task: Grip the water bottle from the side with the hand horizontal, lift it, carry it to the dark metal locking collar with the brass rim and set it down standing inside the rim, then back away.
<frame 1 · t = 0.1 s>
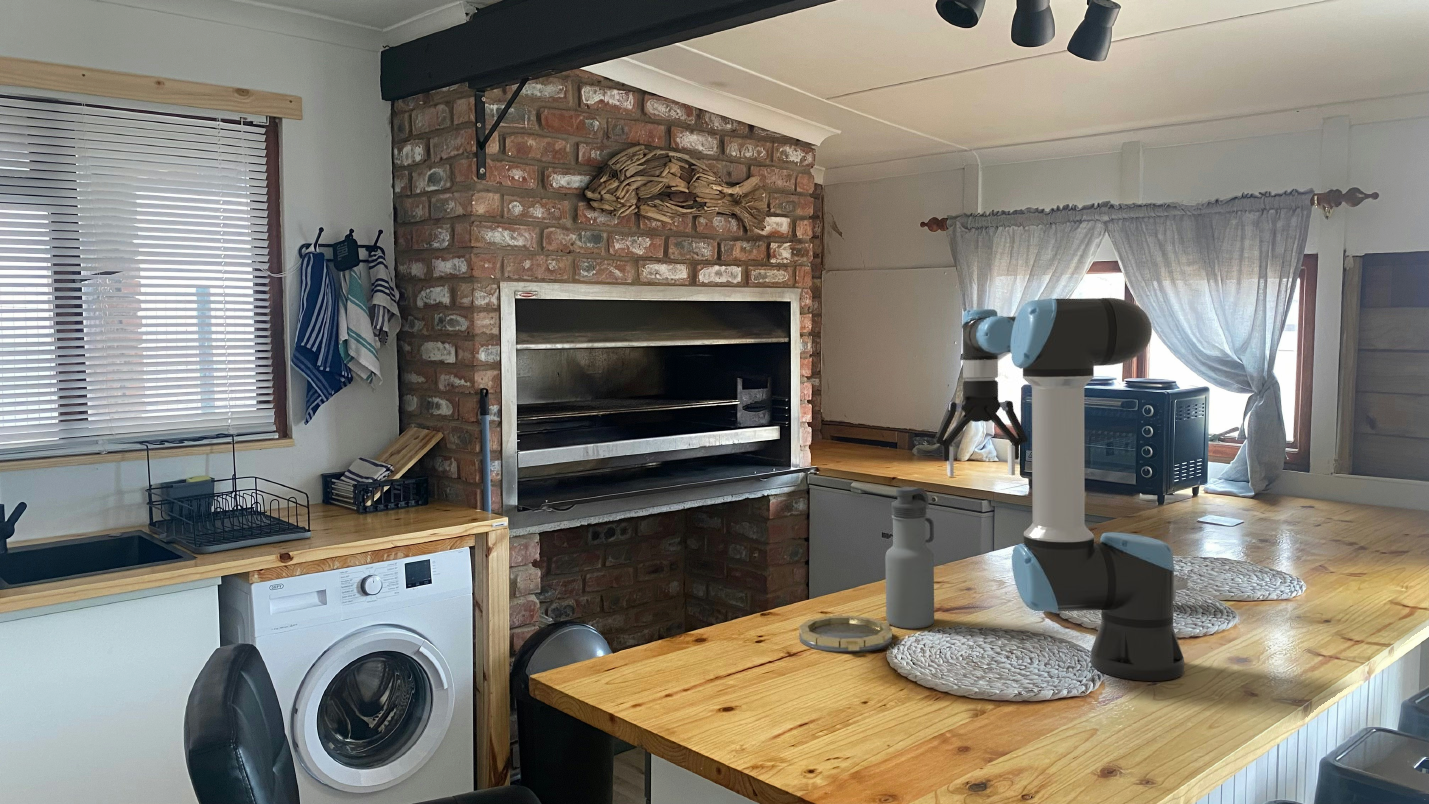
hand: (980, 475, 225), 28 cm above the worktop, tool pointing down, fingers open, 13 cm apart
showerhead: (1161, 609, 217), on the worktop
water bottle: (910, 623, 210), on the worktop
collar: (845, 638, 199), on the worktop
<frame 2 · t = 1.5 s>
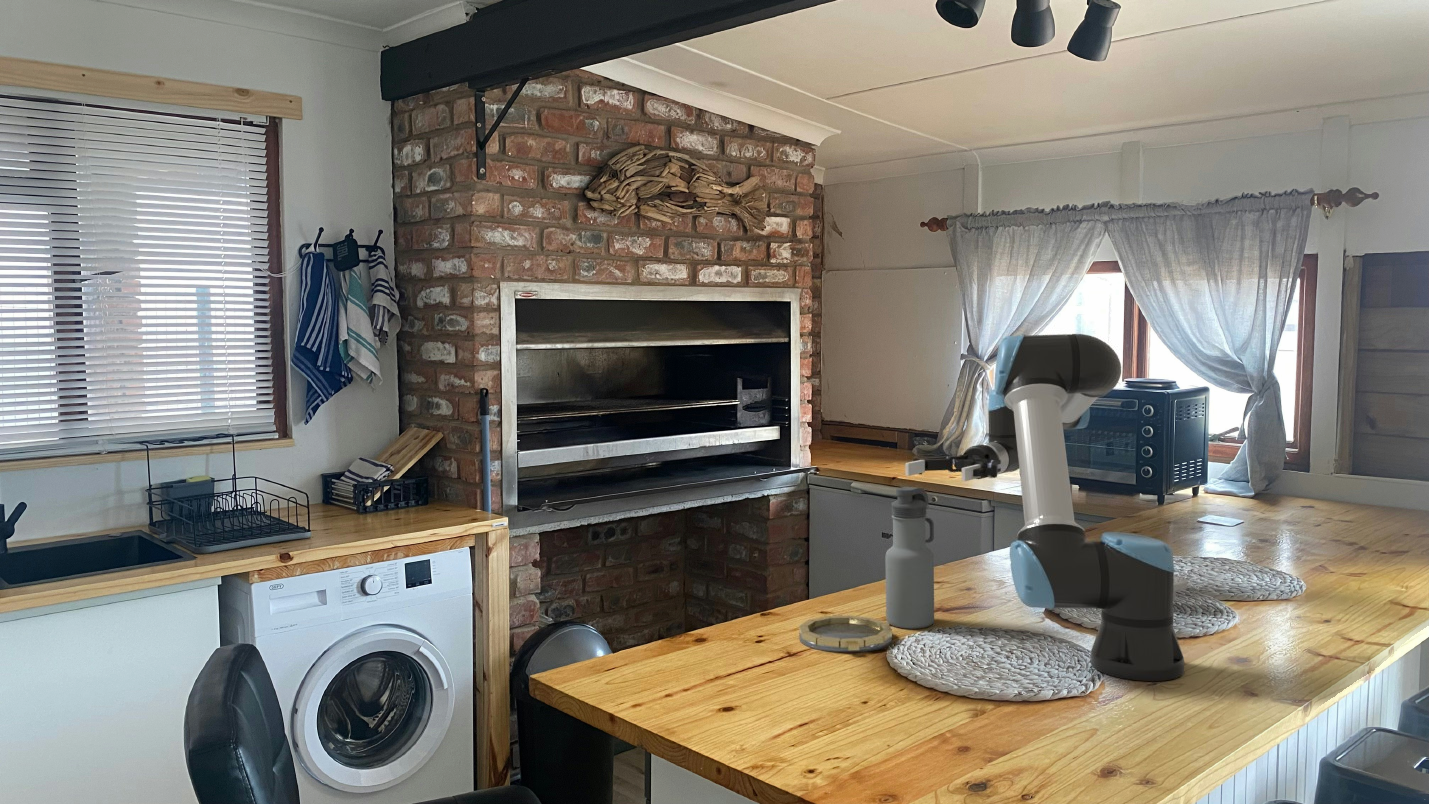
hand: (934, 472, 214), 30 cm above the worktop, tool horizontal, fingers open, 13 cm apart
nothing on the worktop moved.
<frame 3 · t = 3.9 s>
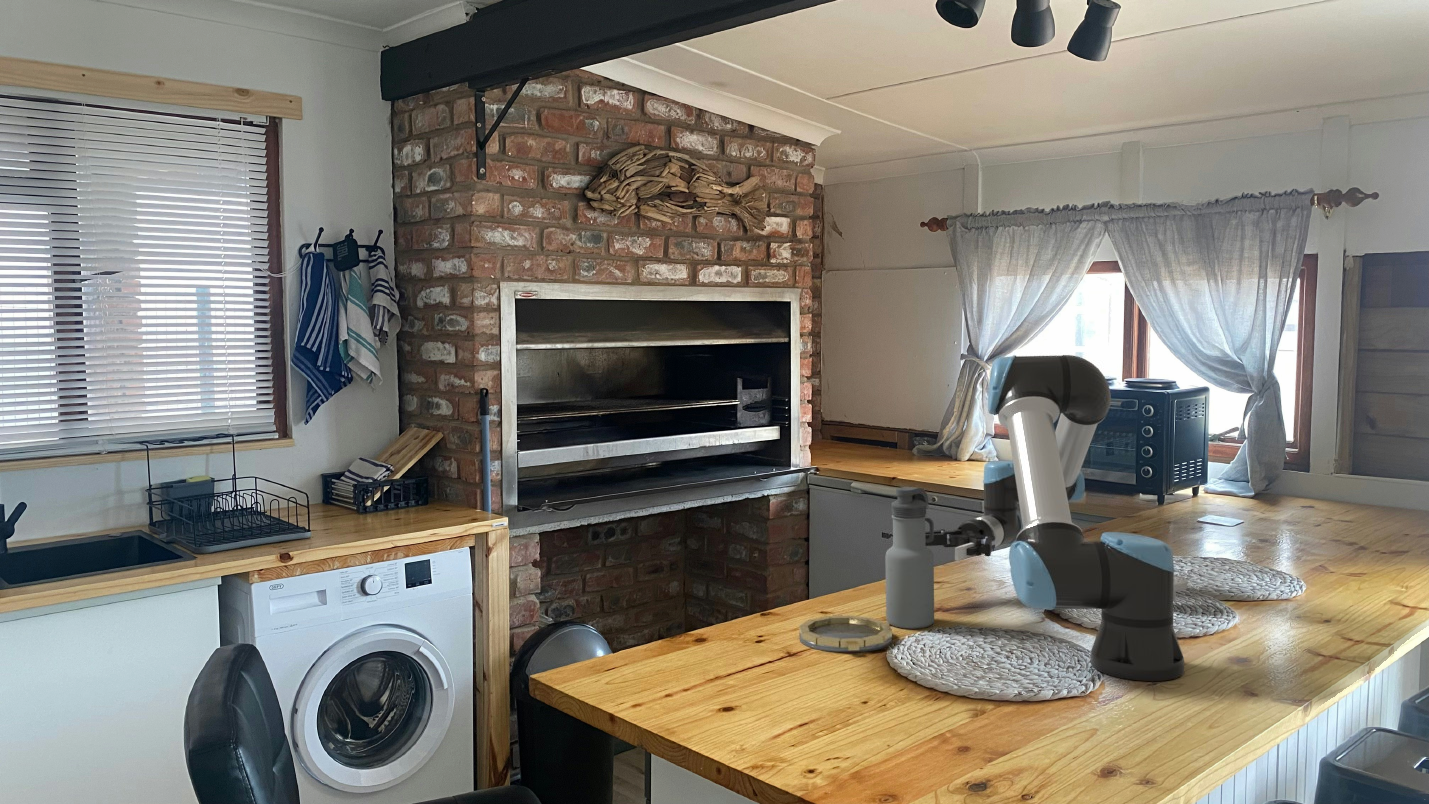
hand: (927, 550, 214), 14 cm above the worktop, tool horizontal, fingers open, 13 cm apart
nothing on the worktop moved.
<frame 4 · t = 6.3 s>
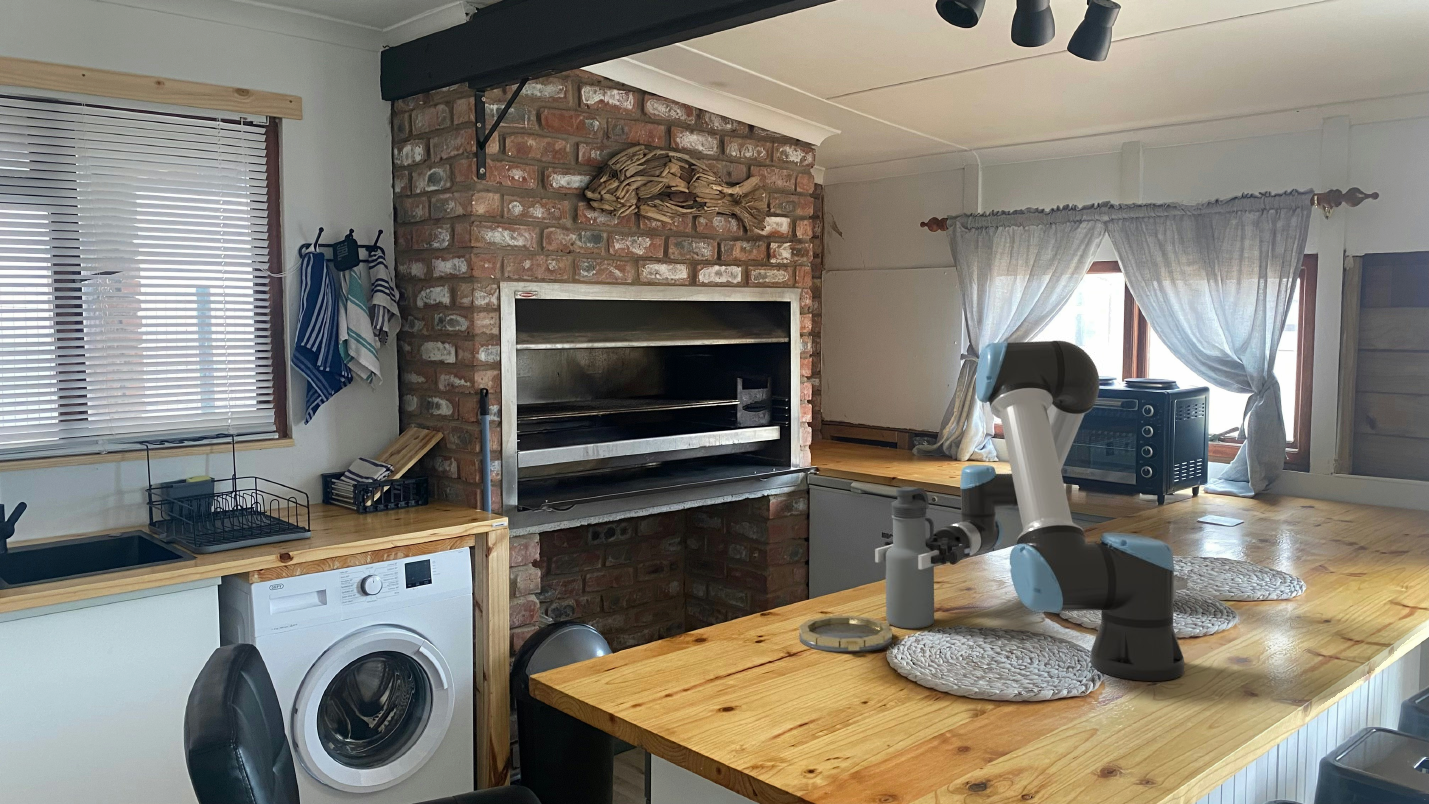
hand: (897, 559, 206), 14 cm above the worktop, tool horizontal, fingers closed on water bottle, 10 cm apart
water bottle: (910, 623, 210), on the worktop, touching gripper
everything else where it was.
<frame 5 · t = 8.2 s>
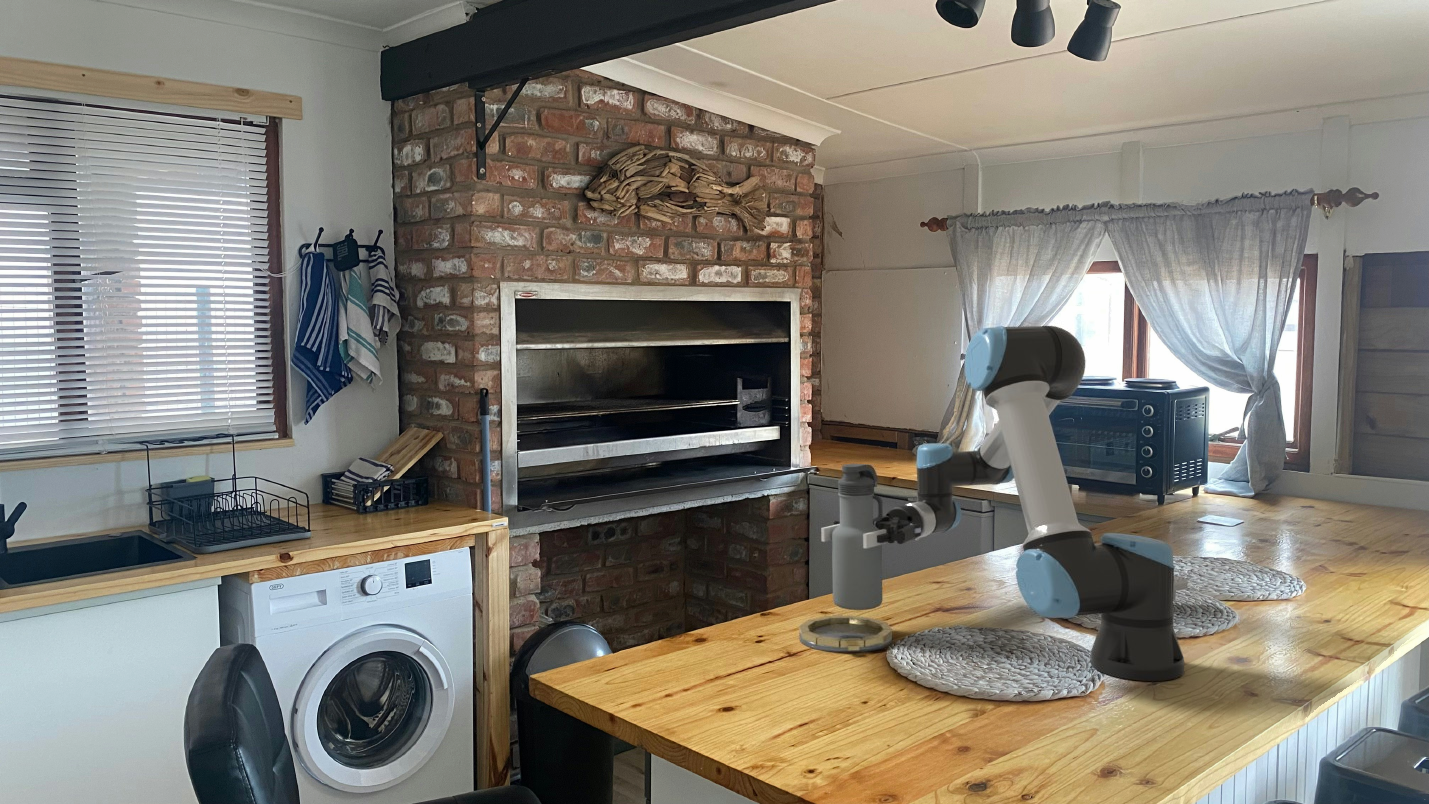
hand: (843, 538, 199), 20 cm above the worktop, tool horizontal, fingers closed on water bottle, 10 cm apart
water bottle: (858, 605, 203), point 6 cm above the worktop, touching gripper
everything else where it was.
when the fingers open (16 cm above the worktop, at t = 10.0 s): water bottle stays where it is, resting on collar.
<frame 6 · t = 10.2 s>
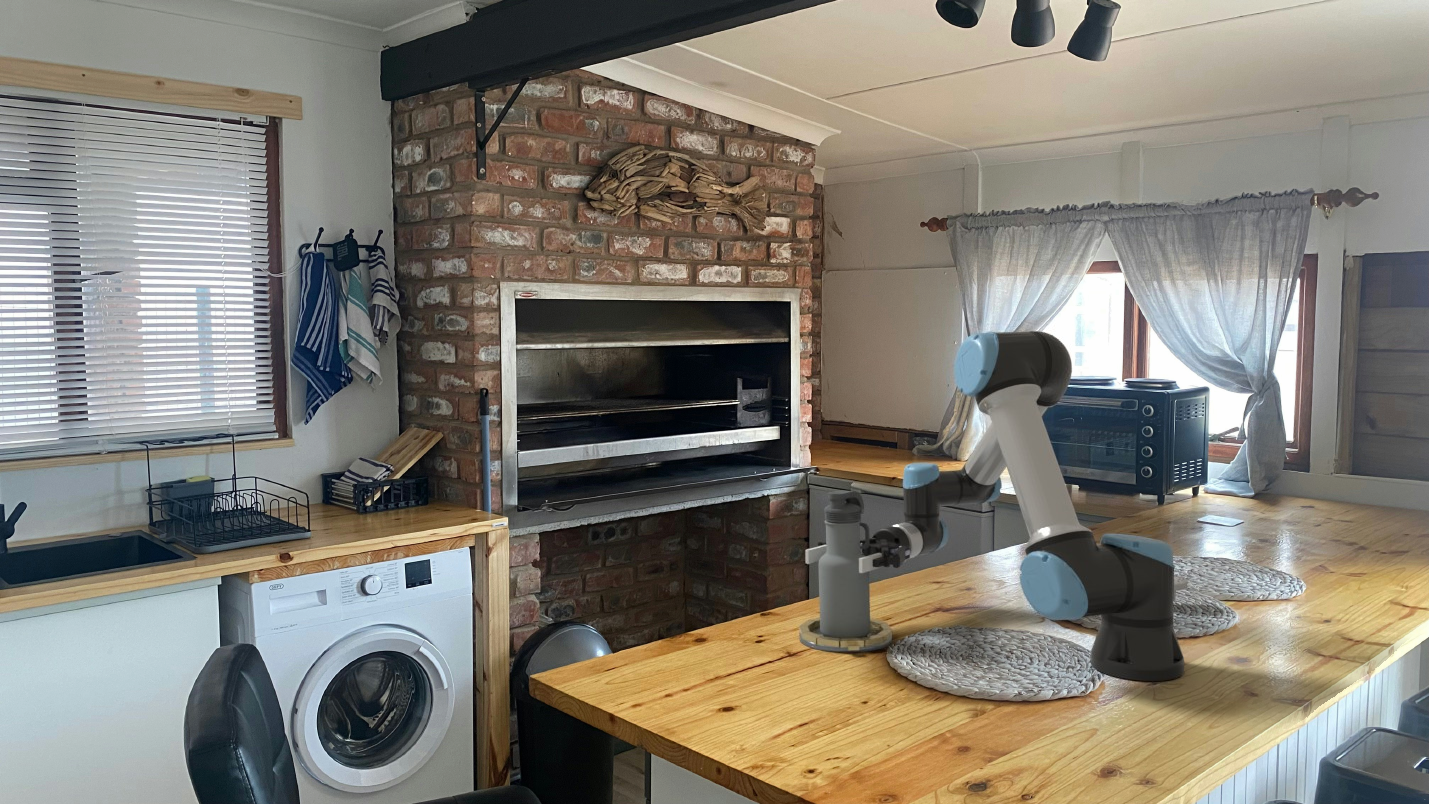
hand: (833, 561, 196), 16 cm above the worktop, tool horizontal, fingers open, 12 cm apart
water bottle: (845, 634, 199), point 1 cm above the worktop, touching collar
everything else where it was.
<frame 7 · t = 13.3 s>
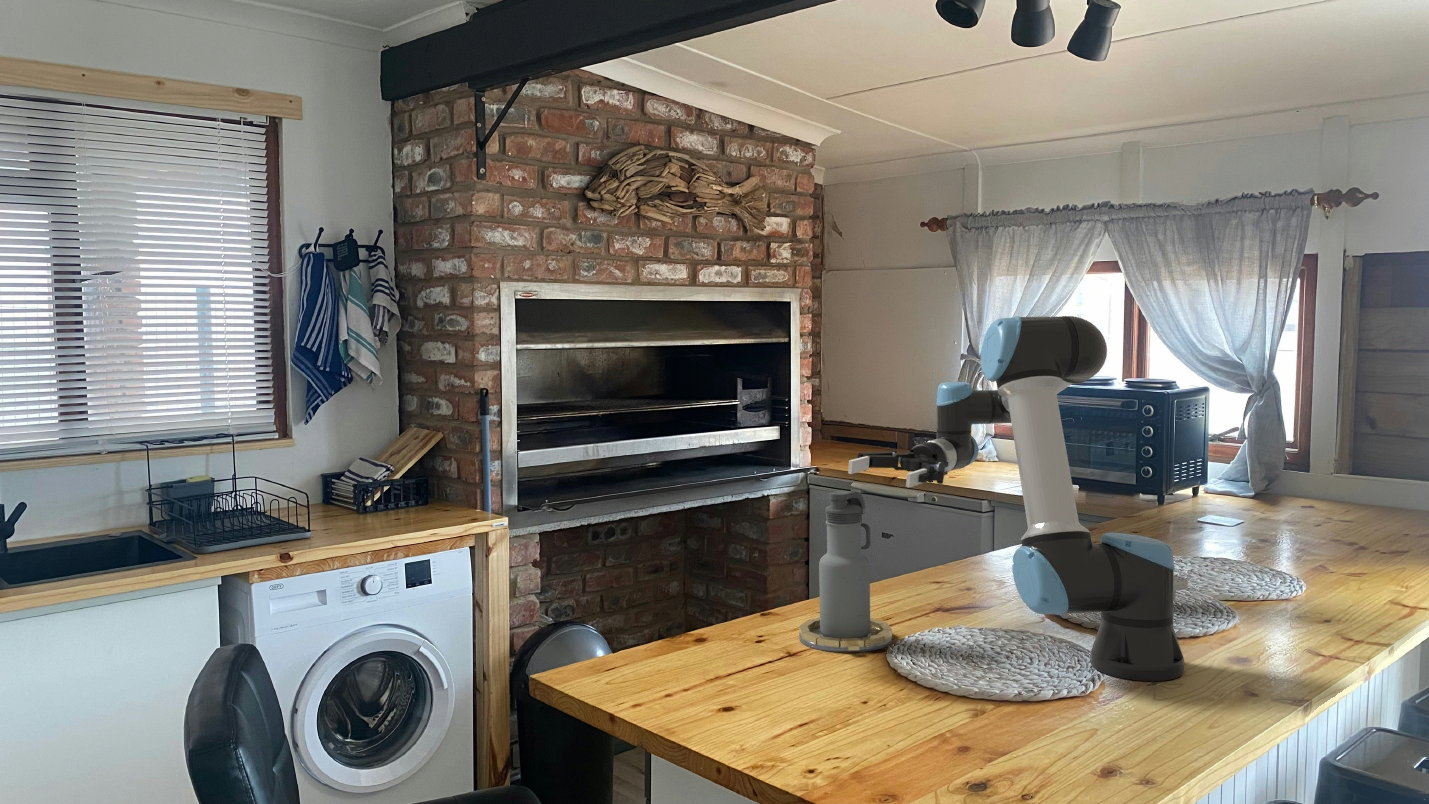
hand: (878, 473, 203), 32 cm above the worktop, tool horizontal, fingers open, 13 cm apart
nothing on the worktop moved.
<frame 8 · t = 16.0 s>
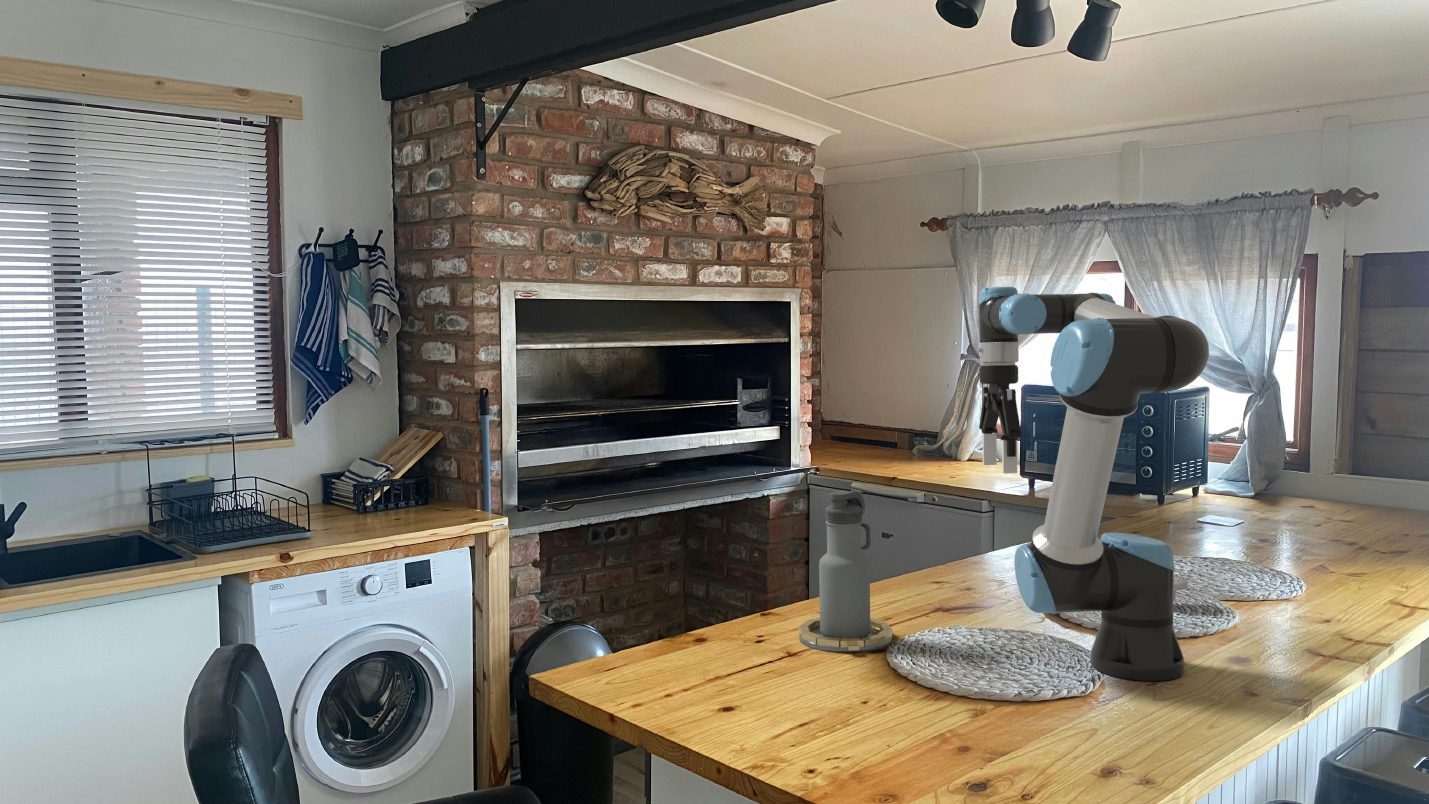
hand: (999, 469, 206), 32 cm above the worktop, tool pointing down, fingers open, 13 cm apart
nothing on the worktop moved.
at the end: water bottle 0.1 cm from the collar (horizontally); water bottle tilted 0°; the gripper is holding nothing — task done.
